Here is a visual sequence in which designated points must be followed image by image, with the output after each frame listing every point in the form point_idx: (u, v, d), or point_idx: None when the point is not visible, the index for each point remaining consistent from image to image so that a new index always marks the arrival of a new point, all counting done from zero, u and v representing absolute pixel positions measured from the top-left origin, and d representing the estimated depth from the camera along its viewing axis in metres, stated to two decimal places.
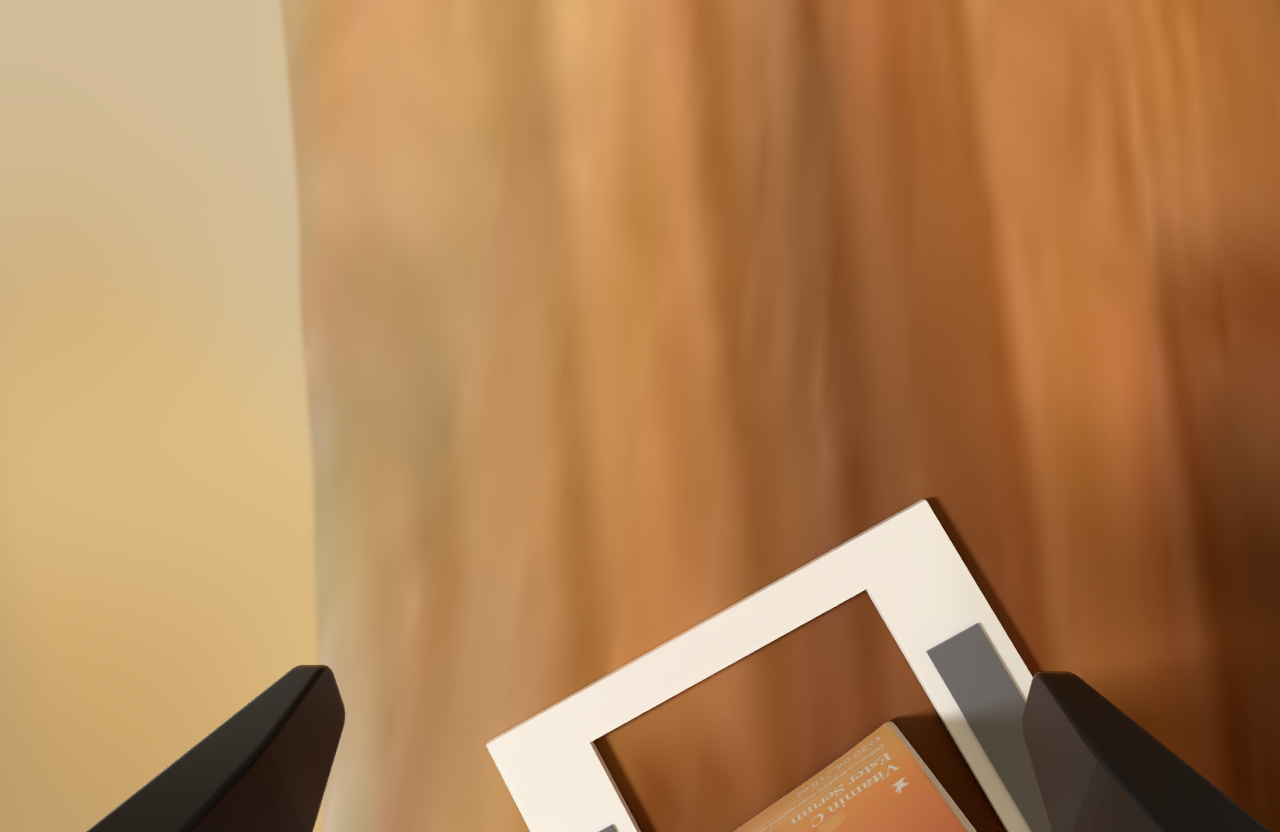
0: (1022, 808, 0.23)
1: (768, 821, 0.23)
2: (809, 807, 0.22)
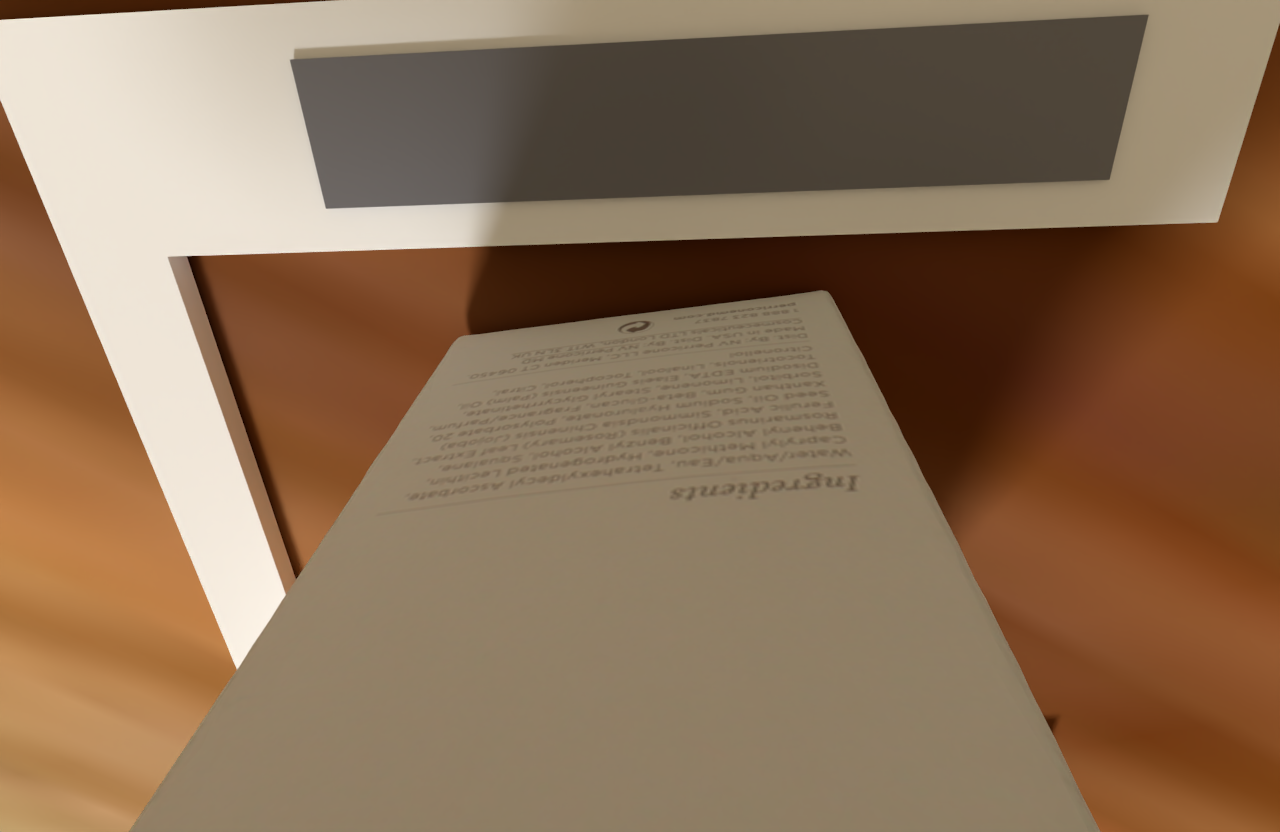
0: (728, 182, 0.10)
1: None
2: None
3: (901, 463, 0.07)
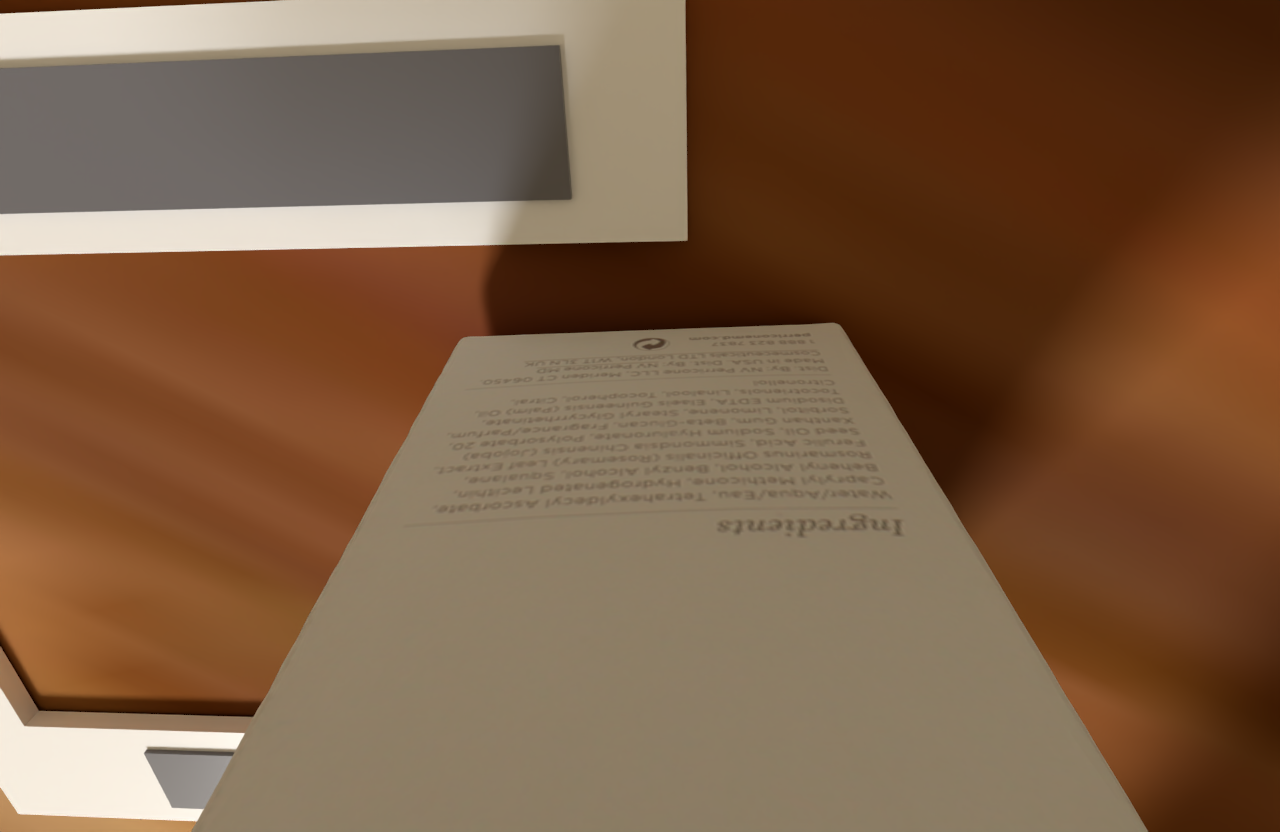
0: (229, 198, 0.10)
1: None
2: None
3: (941, 510, 0.07)
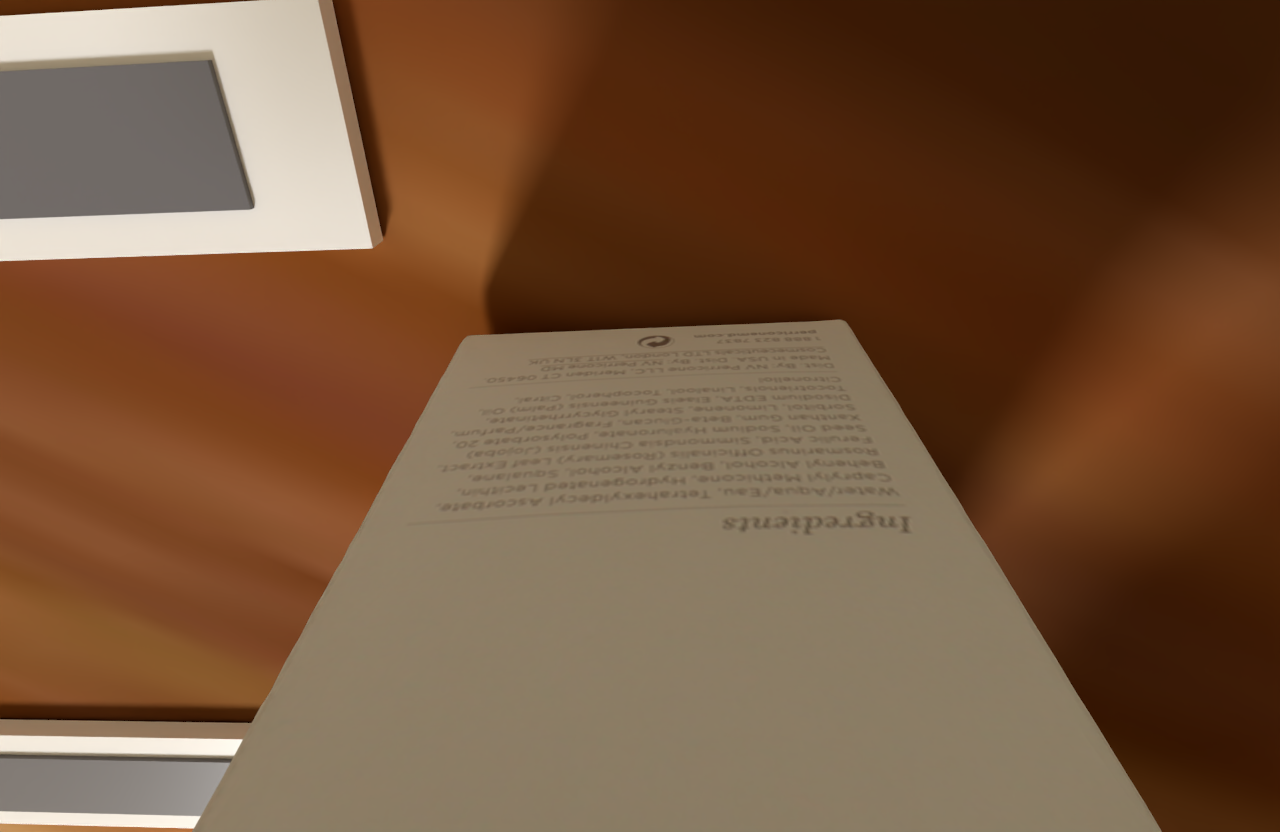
0: None
1: None
2: None
3: (949, 506, 0.07)
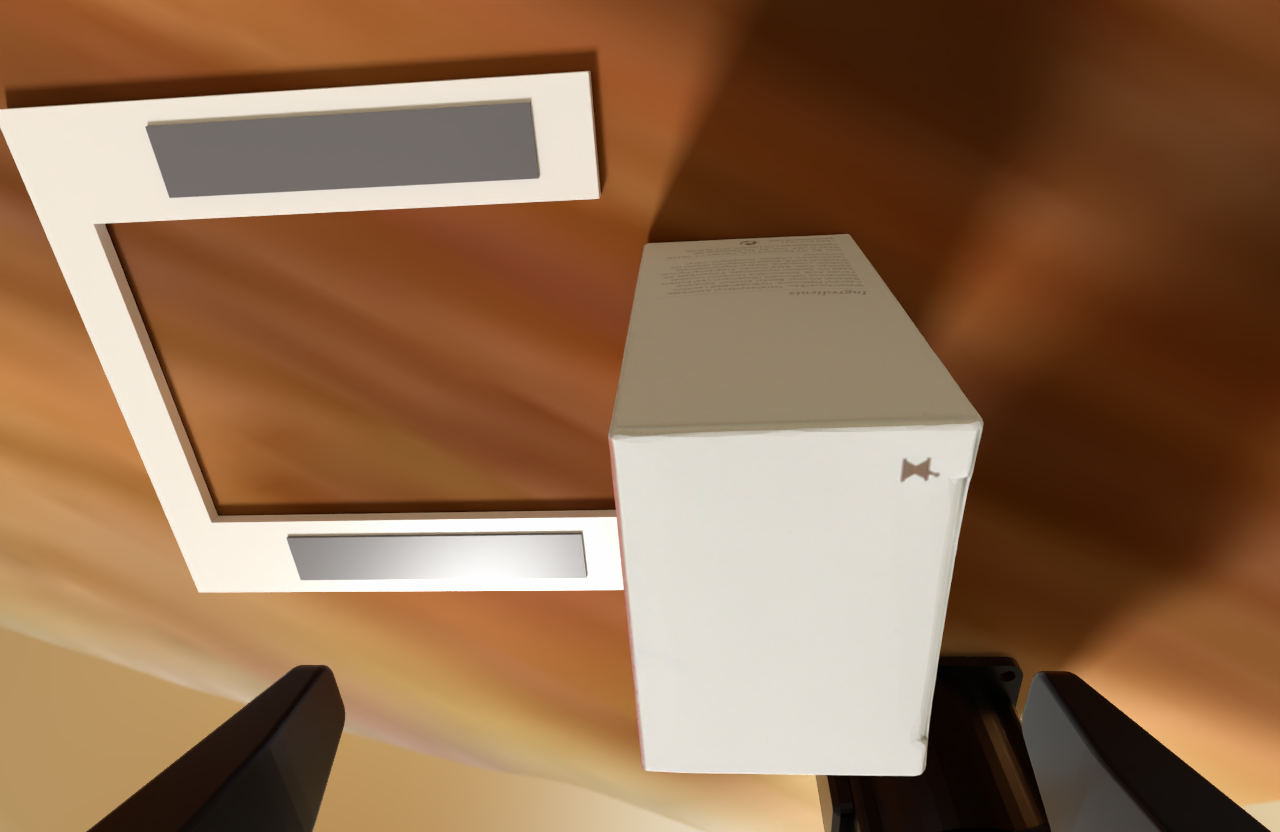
0: (362, 182, 0.20)
1: None
2: None
3: (884, 289, 0.16)
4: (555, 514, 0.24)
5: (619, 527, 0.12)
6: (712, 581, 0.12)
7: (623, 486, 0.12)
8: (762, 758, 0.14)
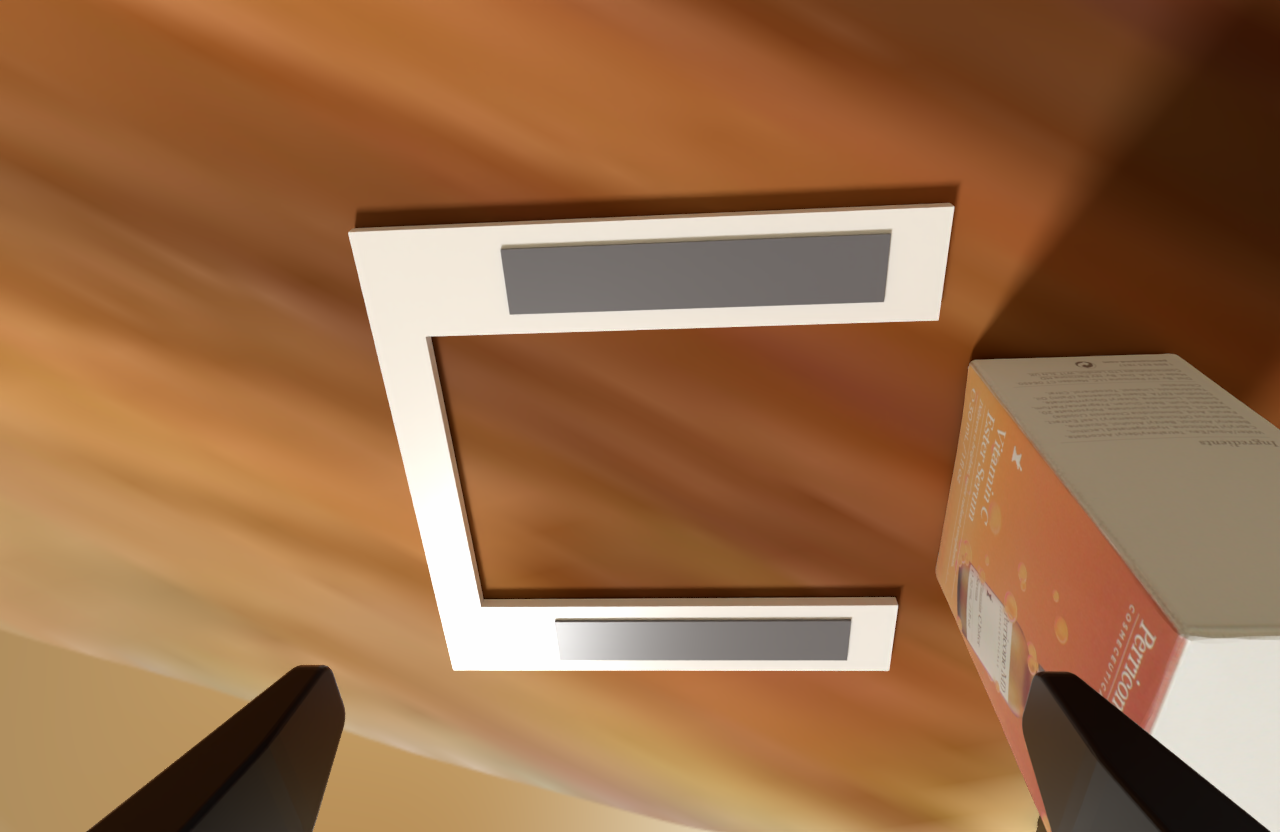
0: (705, 302, 0.20)
1: (956, 519, 0.22)
2: (972, 497, 0.21)
3: None
4: (826, 601, 0.25)
5: (1155, 709, 0.13)
6: (1232, 755, 0.13)
7: (1180, 678, 0.12)
8: None
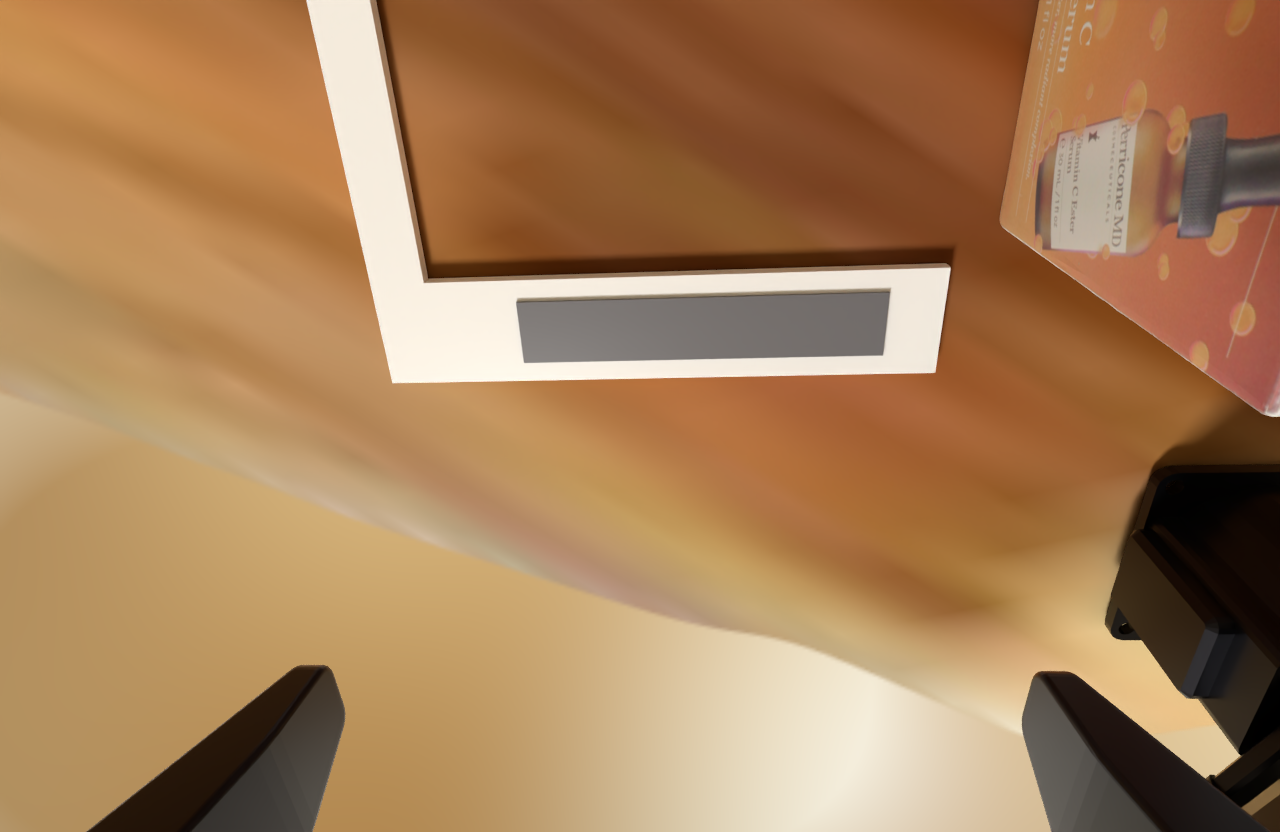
0: None
1: (1035, 104, 0.17)
2: (1063, 39, 0.16)
3: None
4: (858, 268, 0.20)
5: None
6: None
7: None
8: None
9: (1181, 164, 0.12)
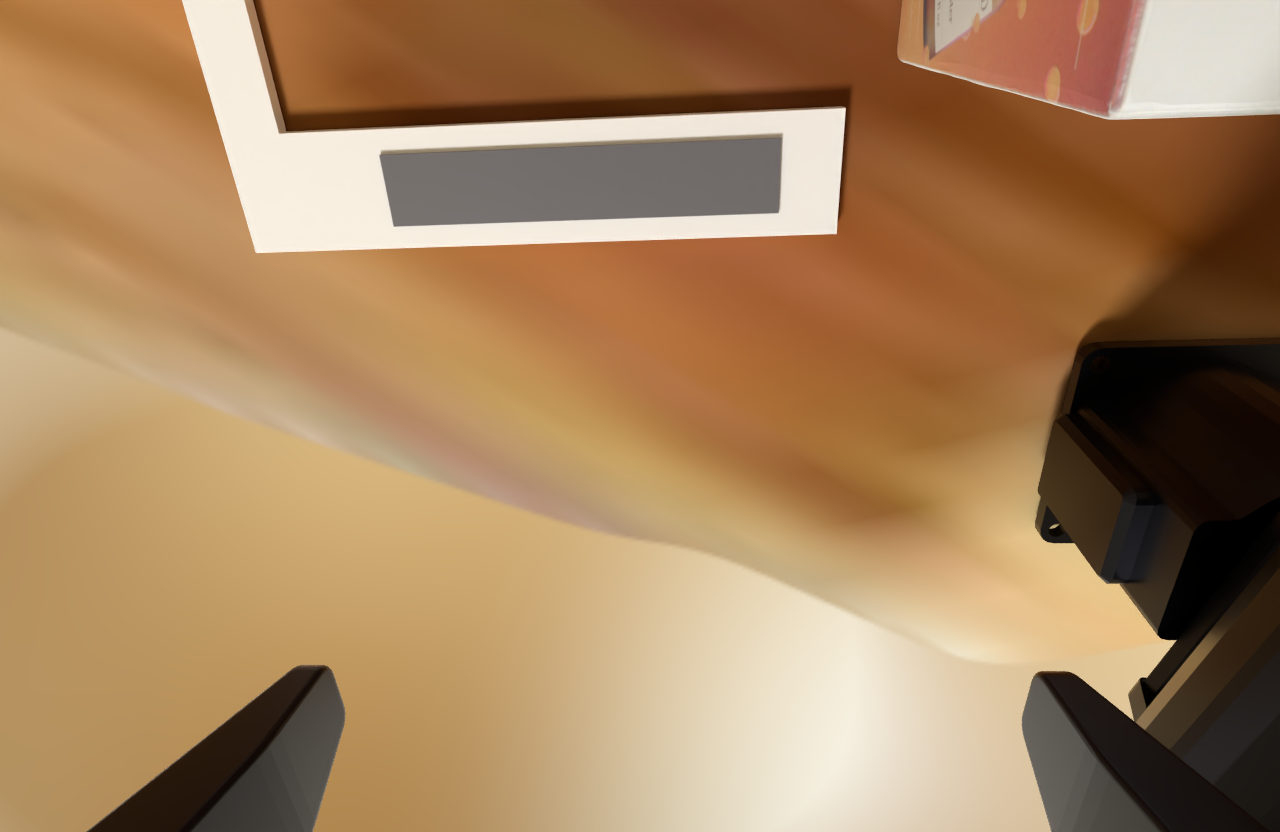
0: None
1: None
2: None
3: None
4: (747, 111, 0.18)
5: None
6: None
7: None
8: None
9: None
